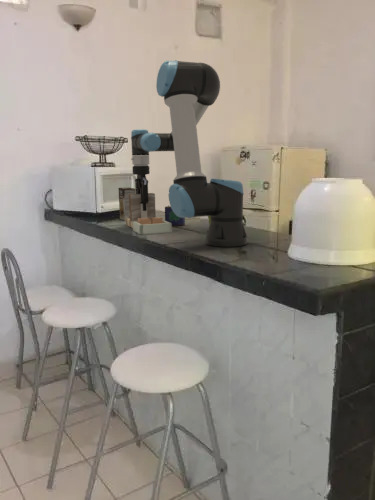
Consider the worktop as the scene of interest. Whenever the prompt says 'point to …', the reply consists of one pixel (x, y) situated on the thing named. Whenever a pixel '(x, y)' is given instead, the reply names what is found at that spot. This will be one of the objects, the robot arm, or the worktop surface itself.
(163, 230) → the tray
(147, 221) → the tile
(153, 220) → the tile
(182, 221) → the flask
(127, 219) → the board
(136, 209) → the tan block
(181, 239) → the worktop surface
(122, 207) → the coffee box
